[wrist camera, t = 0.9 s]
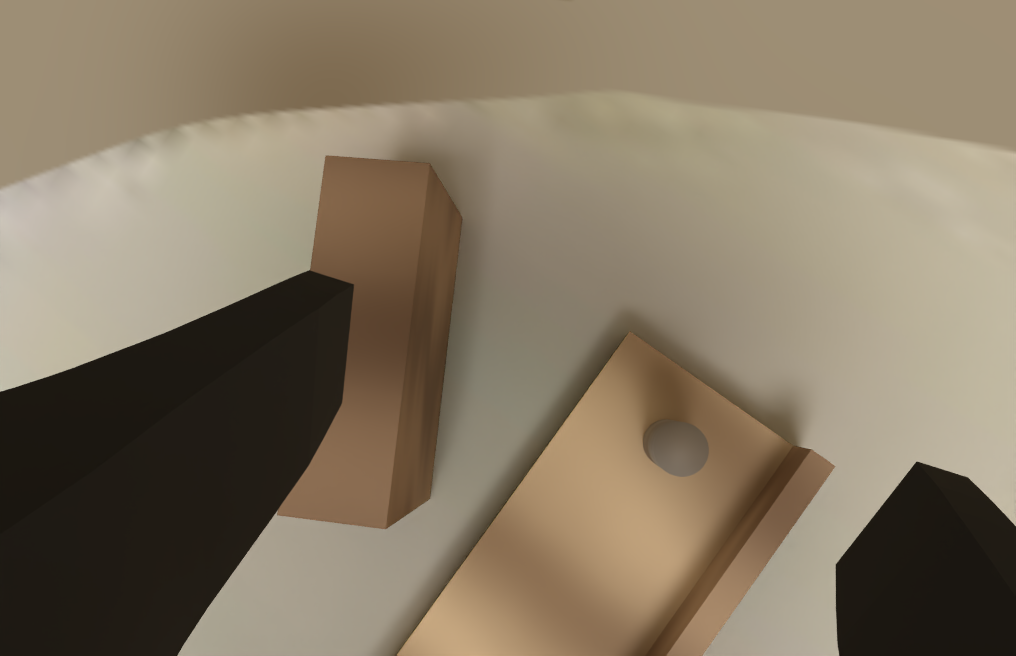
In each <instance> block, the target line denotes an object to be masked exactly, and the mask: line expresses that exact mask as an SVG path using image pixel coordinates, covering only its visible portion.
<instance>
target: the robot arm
mask: <svg viewBox="0 0 1016 656" xmlns="http://www.w3.org/2000/svg"><path fill="white" fill-rule="evenodd" d="M353 291H354V284H351V283H348V282H345V281H342V280H339V279H336V278H332V277H329V276H326V275H323V274H320V273H316V272H313V271H310V270H309V271H307V272H304V273H302V274H299V275H297V276H294V277H292V278H289V279H287V280H285V281H282V282H280V283H278V284H276V285H273V286H271V287H269V288H267V289H264V290H262V291H260V292H258V293H255V294H253V295H251V296H249V297H247V298H244V299H242V300H240V301H238V302H235V303H233V304H231V305H229V306H226V307H224V308H222V309H219V310H217V311H215V312H212V313H210V314H208V315H206V316H203V317H201V318H199V319H196V320H194V321H192V322H189V323H187V324H185V325H182V326H180V327H178V328H175V329H173V330H171V331H168V332H166V333H164V334H161V335H158V336H156V337H153V338H151V339H148V340H145V341H143V342H140V343H138V344H135V345H132V346H130V347H127V348H124V349H122V350H119V351H117V352H114V353H111V354H109V355H106V356H104V357H101V358H98V359H96V360H93V361H90V362H88V363H85V364H83V365H80V366H77V367H75V368H72V369H69V370H66V371H63V372H60V373H58V374H55V375H52V376H49V377H46V378H43V379H40V380H37V381H34V382H30V383H27V384H24V385H21V386H18V387H15V388H12V389H8V390H5V391H2V392H0V656H177V655H178V653H179V652H180V650H181V648H182V646H183V645H184V643H185V642H186V640H187V638H188V637H189V635H190V634H191V632H192V631H193V629H194V628H195V626H196V625H197V623H198V622H199V620H200V619H201V617H202V616H203V614H204V613H205V611H206V610H207V608H208V607H209V605H210V604H211V602H212V601H213V600H214V598H215V597H216V595H217V594H218V593H219V591H220V590H221V588H222V587H223V586H224V584H225V583H226V582H227V580H228V579H229V577H230V576H231V575H232V573H233V572H234V570H235V569H236V568H237V566H238V565H239V563H240V562H241V561H242V559H243V558H244V556H245V555H246V554H247V552H248V551H249V549H250V548H251V547H252V545H253V544H254V542H255V541H256V540H257V538H258V537H259V535H260V534H261V533H262V531H263V530H264V528H265V527H266V526H267V524H268V523H269V521H270V520H271V519H272V517H273V516H274V514H275V513H276V512H277V510H278V509H279V507H280V506H281V505H282V503H283V502H284V500H285V499H286V497H287V496H288V495H289V493H290V492H291V490H292V489H293V488H294V486H295V485H296V483H297V482H298V480H299V479H300V478H301V476H302V475H303V473H304V472H305V470H306V469H307V467H308V466H309V464H310V462H311V461H312V459H313V457H314V455H315V453H316V452H317V450H318V448H319V446H320V444H321V442H322V441H323V439H324V437H325V435H326V433H327V431H328V429H329V427H330V425H331V424H332V422H333V420H334V418H335V416H336V414H337V412H338V410H339V408H340V406H341V404H342V400H343V390H344V380H345V370H346V360H347V350H348V341H349V331H350V321H351V311H352V301H353ZM836 618H837V641H838V649H839V656H1016V526H1015V525H1014V524H1013V523H1012V522H1011V521H1010V520H1009V519H1008V518H1007V516H1006V515H1005V514H1004V513H1003V512H1002V511H1001V510H1000V509H999V508H998V507H997V506H996V505H995V504H994V503H993V502H992V501H991V500H990V499H989V498H988V497H987V496H986V495H985V494H984V493H983V492H982V491H981V490H980V489H979V488H978V487H977V486H976V485H975V484H974V483H973V482H972V481H971V480H970V479H969V478H968V477H964V476H961V475H958V474H955V473H952V472H949V471H945V470H942V469H939V468H936V467H933V466H930V465H926V464H923V463H920V462H916V463H915V464H914V466H913V467H912V468H911V469H910V471H909V472H908V473H907V475H906V476H905V477H904V478H903V480H902V481H901V482H900V483H899V485H898V486H897V487H896V489H895V490H894V491H893V492H892V494H891V495H890V496H889V498H888V499H887V500H886V501H885V503H884V504H883V505H882V506H881V508H880V509H879V510H878V512H877V513H876V514H875V515H874V517H873V518H872V519H871V520H870V522H869V523H868V524H867V526H866V527H865V528H864V529H863V531H862V532H861V533H860V534H859V536H858V537H857V538H856V540H855V541H854V542H853V543H852V545H851V546H850V547H849V549H848V550H847V551H846V552H845V554H844V555H843V556H842V557H841V559H840V560H839V561H838V563H837V564H836Z"/></svg>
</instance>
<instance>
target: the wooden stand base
mask: <svg viewBox="0 0 1016 656" xmlns="http://www.w3.org/2000/svg"><path fill="white" fill-rule="evenodd" d="M834 467H835V466H834V465H833V464H831V463H830V462H829V461H827V460H826V459H824V458H823V457H821V456H820V455H819V454H817V453H816V452H814V451H813V450H811V449H806V448H801V447H796V446H793V445H791V444H790V443H788V442H787V441H786V440H784V439H783V438H781V437H780V436H779V435H777V434H776V433H774V432H773V431H771V430H770V429H769V428H767V427H766V426H764V425H763V424H761V423H760V422H759V421H757V420H756V419H754V418H753V417H751V416H750V415H749V414H747V413H746V412H744V411H743V410H741V409H740V408H739V407H737V406H736V405H734V404H733V403H731V402H730V401H729V400H727V399H726V398H724V397H723V396H721V395H720V394H719V393H717V392H716V391H714V390H713V389H711V388H710V387H709V386H707V385H706V384H704V383H703V382H702V381H700V380H699V379H697V378H696V377H694V376H693V375H692V374H690V373H689V372H687V371H686V370H684V369H683V368H682V367H680V366H679V365H677V364H676V363H674V362H673V361H672V360H670V359H669V358H667V357H666V356H664V355H663V354H662V353H660V352H659V351H657V350H656V349H654V348H653V347H652V346H650V345H649V344H647V343H646V342H644V341H643V340H642V339H640V338H639V337H637V336H636V335H634V334H633V333H632V332H629V333H628V334H627V335H626V337H625V338H624V340H623V341H622V342H621V344H620V345H619V346H618V348H617V349H616V351H615V352H614V353H613V355H612V356H611V358H610V359H609V360H608V362H607V363H606V365H605V366H604V367H603V369H602V370H601V371H600V373H599V374H598V376H597V377H596V378H595V380H594V381H593V383H592V384H591V385H590V387H589V388H588V390H587V391H586V392H585V394H584V395H583V397H582V398H581V399H580V401H579V402H578V403H577V405H576V406H575V408H574V409H573V410H572V412H571V413H570V415H569V416H568V417H567V419H566V420H565V422H564V423H563V424H562V426H561V427H560V428H559V430H558V431H557V433H556V434H555V435H554V437H553V438H552V440H551V441H550V442H549V444H548V445H547V447H546V448H545V449H544V451H543V452H542V453H541V455H540V456H539V458H538V459H537V460H536V462H535V463H534V465H533V466H532V467H531V469H530V470H529V472H528V473H527V474H526V476H525V477H524V479H523V480H522V481H521V483H520V484H519V485H518V487H517V488H516V490H515V491H514V492H513V494H512V495H511V497H510V498H509V499H508V501H507V502H506V504H505V505H504V506H503V508H502V509H501V510H500V512H499V513H498V515H497V516H496V517H495V519H494V520H493V522H492V523H491V524H490V526H489V527H488V529H487V530H486V531H485V533H484V534H483V535H482V537H481V538H480V540H479V541H478V542H477V544H476V545H475V547H474V548H473V549H472V551H471V552H470V554H469V555H468V556H467V558H466V559H465V560H464V562H463V563H462V565H461V566H460V567H459V569H458V570H457V572H456V573H455V574H454V576H453V577H452V579H451V580H450V581H449V583H448V584H447V586H446V587H445V588H444V590H443V591H442V592H441V594H440V595H439V597H438V598H437V599H436V601H435V602H434V604H433V605H432V606H431V608H430V609H429V611H428V612H427V613H426V615H425V616H424V617H423V619H422V620H421V622H420V623H419V624H418V626H417V627H416V629H415V630H414V631H413V633H412V634H411V636H410V637H409V638H408V640H407V641H406V642H405V644H404V645H403V647H402V648H401V649H400V651H399V652H398V654H397V655H396V656H702V655H703V654H704V652H705V651H706V649H707V648H708V647H709V645H710V644H711V642H712V641H713V640H714V638H715V637H716V635H717V634H718V632H719V631H720V630H721V628H722V627H723V625H724V624H725V622H726V621H727V620H728V618H729V617H730V615H731V614H732V612H733V611H734V610H735V608H736V607H737V605H738V604H739V603H740V601H741V600H742V598H743V597H744V595H745V594H746V593H747V591H748V590H749V588H750V587H751V585H752V584H753V583H754V581H755V580H756V578H757V577H758V576H759V574H760V573H761V571H762V570H763V568H764V567H765V566H766V564H767V563H768V561H769V560H770V558H771V557H772V556H773V554H774V553H775V551H776V550H777V548H778V547H779V546H780V544H781V543H782V541H783V540H784V539H785V537H786V536H787V534H788V533H789V531H790V530H791V529H792V527H793V526H794V524H795V523H796V521H797V520H798V519H799V517H800V516H801V514H802V513H803V511H804V510H805V509H806V507H807V506H808V504H809V503H810V502H811V500H812V499H813V497H814V496H815V494H816V493H817V492H818V490H819V489H820V487H821V486H822V484H823V483H824V482H825V480H826V479H827V477H828V476H829V475H830V473H831V472H832V470H833V469H834Z"/></svg>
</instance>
